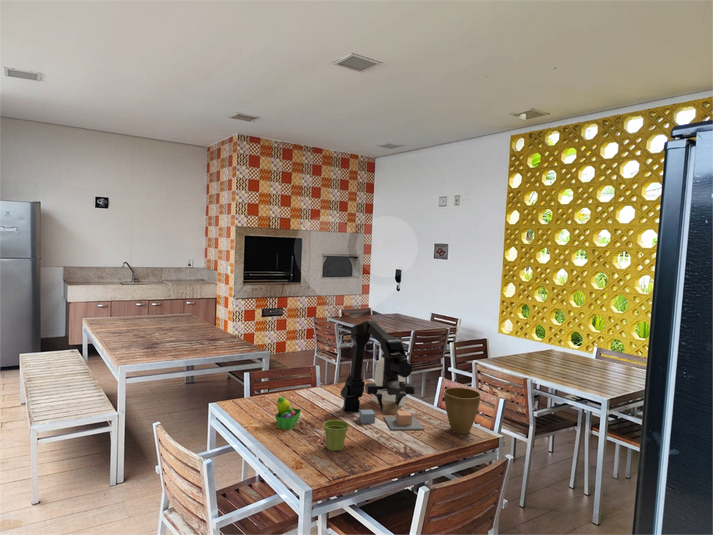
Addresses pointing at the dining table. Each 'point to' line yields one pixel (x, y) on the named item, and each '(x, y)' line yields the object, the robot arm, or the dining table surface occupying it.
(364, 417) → the slate block
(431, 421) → the dining table surface
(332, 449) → the plant pot
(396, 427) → the tower base
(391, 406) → the walnut block
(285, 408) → the fruit basket
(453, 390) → the plant pot
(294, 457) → the dining table surface
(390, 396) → the milk
